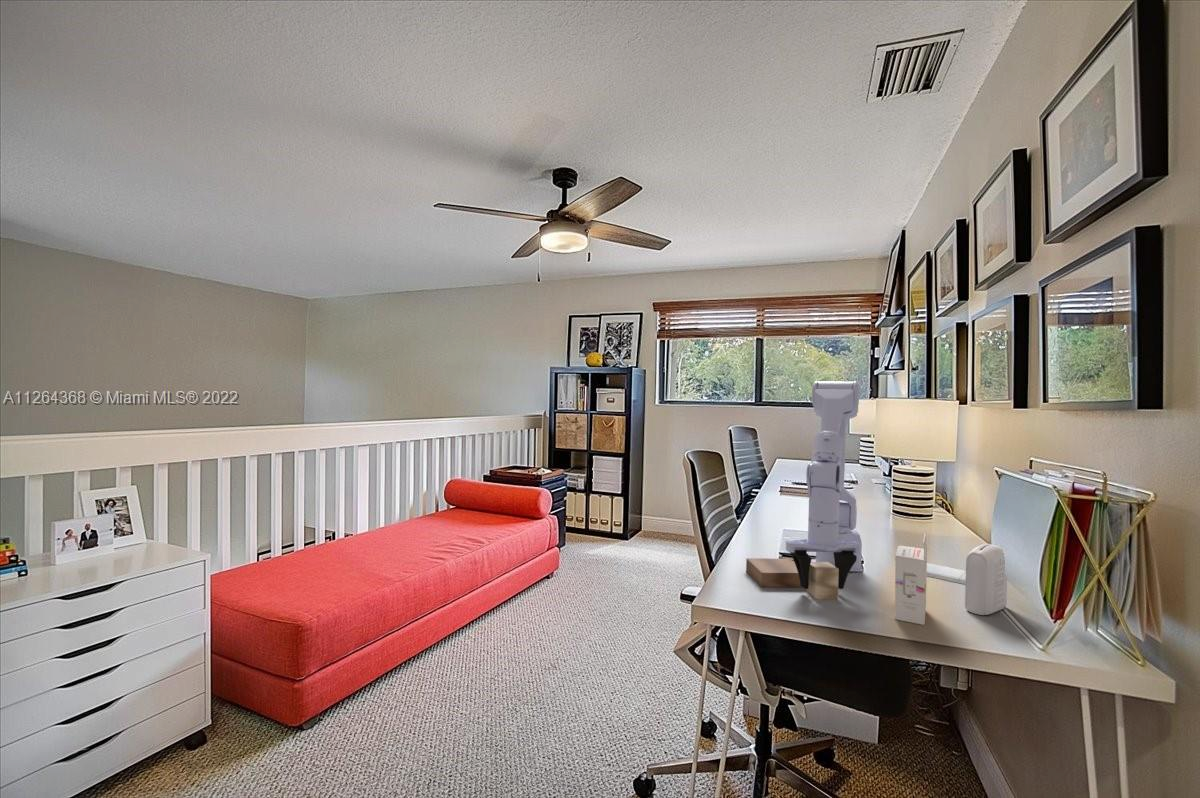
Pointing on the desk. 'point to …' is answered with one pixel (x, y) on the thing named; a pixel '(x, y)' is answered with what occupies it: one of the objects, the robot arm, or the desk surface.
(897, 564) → the ink cartridge box
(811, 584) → the maple block
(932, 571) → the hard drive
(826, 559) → the robot arm
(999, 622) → the desk surface
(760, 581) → the walnut base
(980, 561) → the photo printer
